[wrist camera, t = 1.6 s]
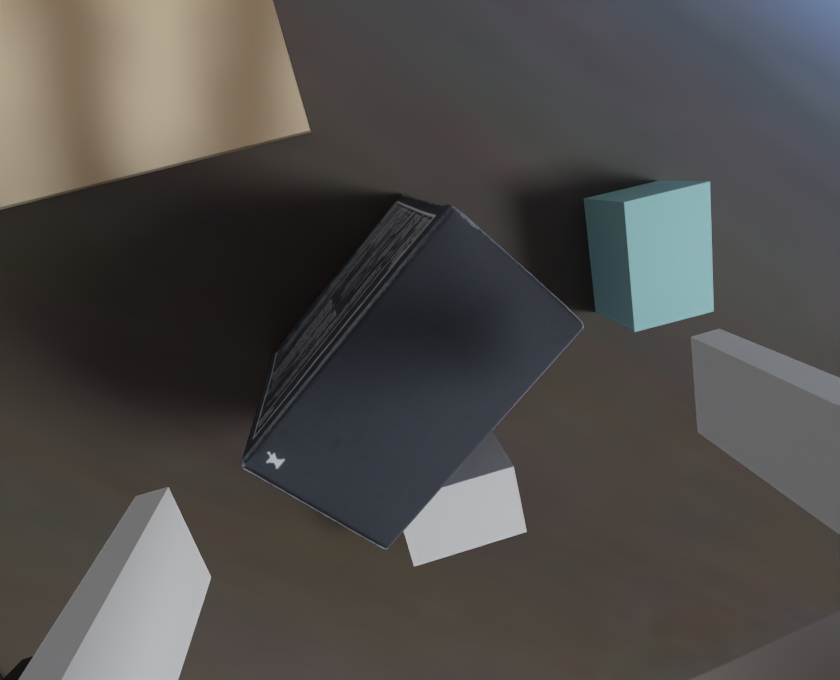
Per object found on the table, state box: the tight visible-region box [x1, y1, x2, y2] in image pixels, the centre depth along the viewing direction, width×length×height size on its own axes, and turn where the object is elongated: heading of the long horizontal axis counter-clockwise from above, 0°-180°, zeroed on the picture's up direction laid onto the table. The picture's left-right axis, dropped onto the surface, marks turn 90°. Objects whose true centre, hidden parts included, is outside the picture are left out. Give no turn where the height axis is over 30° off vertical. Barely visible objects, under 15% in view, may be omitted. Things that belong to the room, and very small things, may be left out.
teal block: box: [584, 181, 714, 332], centre depth 25 cm, size 4×6×4 cm, turn 12°
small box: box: [241, 194, 584, 549], centre depth 21 cm, size 11×6×10 cm, turn 140°
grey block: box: [404, 431, 527, 567], centre depth 28 cm, size 6×4×4 cm, turn 103°
